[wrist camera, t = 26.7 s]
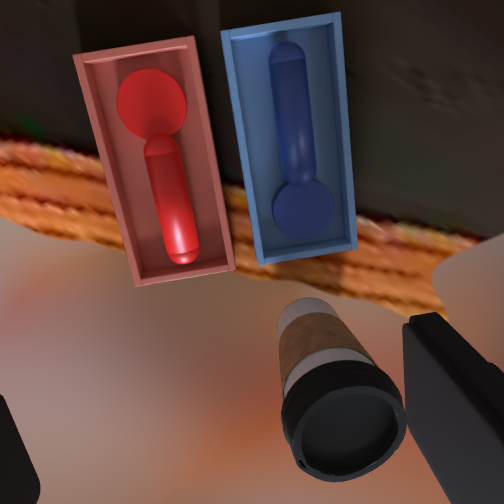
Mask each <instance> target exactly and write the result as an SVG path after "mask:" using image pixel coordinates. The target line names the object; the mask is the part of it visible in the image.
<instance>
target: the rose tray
mask: <svg viewBox="0 0 504 504" xmlns="http://www.w3.org/2000/svg"><path fill="white" fill-rule="evenodd" d="M73 59H74V63H75V66H76V70H77V74H78V77H79V81H80V85H81V88H82V92H83V96H84V99H85V103H86V107H87V110H88V114H89V118H90V121H91V125H92V129H93V133H94V136H95V140H96V144H97V147H98V151H99V155H100V158H101V162H102V166H103V169H104V173H105V177H106V180H107V184H108V188H109V191H110V195H111V199H112V202H113V206H114V210H115V214H116V217H117V221H118V225H119V228H120V232H121V236H122V239H123V243H124V247H125V250H126V254H127V258H128V261H129V265H130V268H131V272H132V276H133V280H134V283H135V286H141V285H147V284H153V283H159V282H165V281H171V280H177V279H183V278H189V277H194V276H200V275H206V274H212V273H218V272H223V271H229V270H235V269H236V263H235V255H234V250H233V244H232V239H231V233H230V228H229V222H228V216H227V211H226V205H225V200H224V194H223V189H222V183H221V177H220V172H219V166H218V161H217V155H216V150H215V144H214V139H213V133H212V127H211V122H210V116H209V111H208V105H207V100H206V94H205V89H204V83H203V77H202V72H201V66H200V61H199V55H198V50H197V44H196V40H195V37H194V36H193V35H192V36H186V37H179V38H173V39H167V40H161V41H155V42H149V43H142V44H136V45H130V46H124V47H118V48H112V49H105V50H99V51H93V52H87V53H82V54H74V55H73ZM143 68H154V69H158V70H161V71H164V72H166V73H168V74H169V75H171V76H172V77H173V78H175V79H176V80H177V81H178V83H179V84H180V85H181V87H182V88H183V90H184V93H185V95H186V99H187V115H186V118H185V121H184V123H183V125H182V126H181V128H180V129H179V130H178V131H177V132H176V133H174V134H173V135H172V136H171V137H172V138H173V139H174V140H175V141H176V142H177V144H178V146H179V149H180V153H181V158H182V163H183V168H184V173H185V177H186V182H187V187H188V192H189V197H190V201H191V206H192V211H193V216H194V221H195V225H196V230H197V235H198V240H199V245H200V250H199V254H198V256H197V257H196V259H195V260H194V261H192V262H190V263H188V264H178V263H176V262H174V261H173V260H171V259H170V257H169V256H168V254H167V251H166V247H165V242H164V238H163V234H162V230H161V226H160V221H159V217H158V213H157V209H156V205H155V200H154V196H153V192H152V188H151V183H150V179H149V175H148V171H147V167H146V162H145V158H144V153H143V149H144V145H145V143H146V141H147V140H145V139H142V138H139V137H137V136H136V135H134V134H133V133H131V132H130V131H129V130H128V129H127V128H126V127H125V125H124V124H123V123H122V121H121V119H120V117H119V114H118V111H117V104H116V99H117V93H118V89H119V87H120V85H121V83H122V82H123V80H124V79H125V78H126V77H127V76H128V75H129V74H131V73H132V72H134V71H136V70H139V69H143Z"/></svg>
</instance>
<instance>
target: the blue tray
mask: <svg viewBox="0 0 504 504" xmlns="http://www.w3.org/2000/svg"><path fill="white" fill-rule="evenodd" d="M220 37H221V43H222V49H223V55H224V62H225V68H226V74H227V80H228V86H229V93H230V99H231V105H232V111H233V117H234V123H235V130H236V136H237V142H238V148H239V154H240V161H241V167H242V173H243V179H244V185H245V192H246V198H247V204H248V210H249V216H250V222H251V229H252V235H253V241H254V247H255V253H256V258H257V263H258V266H259V265H265V264H271V263H277V262H283V261H289V260H294V259H300V258H306V257H312V256H318V255H324V254H330V253H336V252H341V251H347V250H353V249H358V240H357V227H356V213H355V200H354V186H353V173H352V159H351V146H350V132H349V119H348V105H347V92H346V78H345V65H344V51H343V38H342V24H341V12H334V13H327V14H321V15H315V16H309V17H303V18H297V19H290V20H284V21H278V22H272V23H266V24H260V25H253V26H247V27H241V28H235V29H229V30H222V31H221V32H220ZM284 41H291V42H294V43H296V44H298V45H299V46H300V47H301V48H302V50H303V51H304V54H305V57H306V67H307V76H308V86H309V96H310V106H311V115H312V125H313V135H314V145H315V154H316V164H317V171H316V175H315V177H314V179H316V180H318V181H319V182H321V183H322V184H323V185H324V186H325V187H327V189H328V190H329V191H330V193H331V194H332V197H333V199H334V204H335V211H334V216H333V219H332V221H331V223H330V225H329V226H328V227H327V229H326V230H325V231H323V232H322V233H321V234H319V235H318V236H316V237H313V238H310V239H305V240H299V239H294V238H291V237H289V236H287V235H285V234H284V233H283V232H282V231H281V230H280V229H279V228H278V226H277V224H276V222H275V220H274V218H273V215H272V208H271V207H272V200H273V197H274V195H275V192H276V191H277V189H278V188H279V187H280V186H281V185H282V184H283V183H285V182H286V179H285V178H284V176H283V172H282V166H281V159H280V151H279V143H278V136H277V128H276V120H275V113H274V105H273V97H272V90H271V82H270V74H269V67H268V59H269V55H270V52H271V51H272V49H273V48H274V47H275V46H276V45H277V44H279V43H281V42H284Z"/></svg>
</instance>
